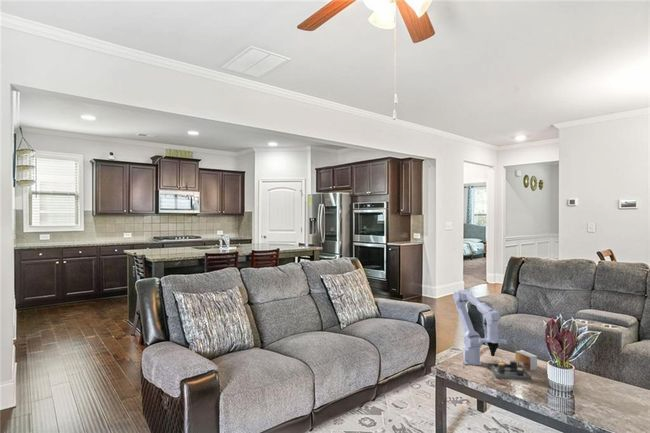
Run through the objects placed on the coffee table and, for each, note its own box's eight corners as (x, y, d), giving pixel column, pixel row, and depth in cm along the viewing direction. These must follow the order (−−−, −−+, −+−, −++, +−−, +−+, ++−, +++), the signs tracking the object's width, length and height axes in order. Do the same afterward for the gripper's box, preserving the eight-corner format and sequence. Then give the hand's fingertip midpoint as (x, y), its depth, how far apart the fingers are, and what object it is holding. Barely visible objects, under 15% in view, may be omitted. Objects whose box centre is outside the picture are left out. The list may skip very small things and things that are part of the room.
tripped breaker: (499, 370, 212) (499, 364, 212) (498, 369, 214) (497, 362, 214) (504, 371, 211) (504, 364, 211) (503, 369, 213) (503, 362, 213)
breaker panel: (496, 378, 206) (496, 368, 206) (488, 366, 221) (488, 357, 221) (531, 380, 203) (531, 370, 203) (521, 368, 218) (521, 359, 218)
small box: (515, 350, 224) (530, 357, 214) (522, 349, 226) (537, 355, 216) (515, 364, 224) (530, 371, 214) (522, 363, 226) (537, 369, 216)
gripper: (481, 333, 210) (481, 357, 211) (508, 334, 208) (508, 359, 208) (478, 329, 217) (478, 352, 218) (504, 330, 215) (504, 354, 215)
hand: (492, 355), depth 213 cm, fingers closed
